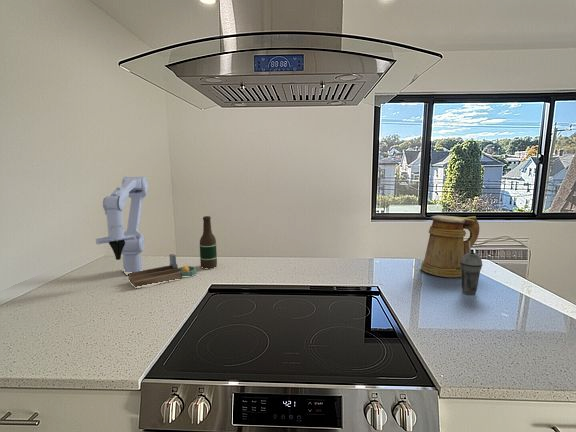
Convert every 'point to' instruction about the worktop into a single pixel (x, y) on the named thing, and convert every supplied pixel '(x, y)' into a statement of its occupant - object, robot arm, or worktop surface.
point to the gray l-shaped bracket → (173, 261)
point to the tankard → (448, 244)
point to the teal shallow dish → (189, 273)
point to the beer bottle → (208, 245)
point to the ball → (184, 269)
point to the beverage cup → (470, 272)
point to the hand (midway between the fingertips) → (118, 259)
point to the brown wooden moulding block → (154, 275)
